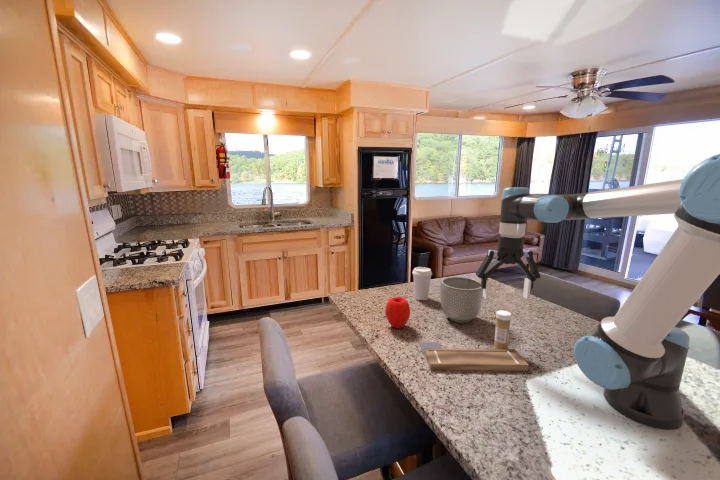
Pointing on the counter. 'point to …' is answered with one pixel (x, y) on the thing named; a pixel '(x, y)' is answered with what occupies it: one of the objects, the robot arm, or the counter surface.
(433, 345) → the end pad
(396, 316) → the apple
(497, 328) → the spice jar
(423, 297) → the coffee cup
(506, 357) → the board
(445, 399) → the counter surface
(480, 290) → the planter
